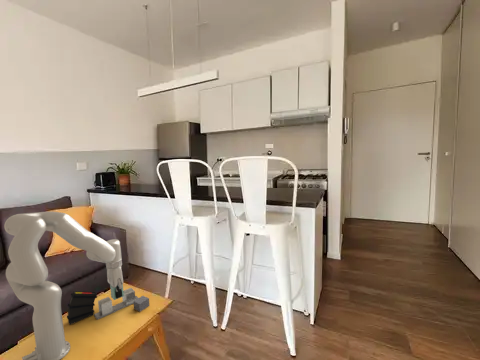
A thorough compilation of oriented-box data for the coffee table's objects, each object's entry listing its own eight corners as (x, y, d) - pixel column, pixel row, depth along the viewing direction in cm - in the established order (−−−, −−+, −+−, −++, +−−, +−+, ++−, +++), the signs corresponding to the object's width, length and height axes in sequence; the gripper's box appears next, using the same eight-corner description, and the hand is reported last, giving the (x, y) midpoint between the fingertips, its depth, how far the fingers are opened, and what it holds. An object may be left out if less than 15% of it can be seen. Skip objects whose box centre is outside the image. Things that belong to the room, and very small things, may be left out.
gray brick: (140, 312, 134) (139, 304, 133) (134, 309, 136) (133, 301, 136) (149, 305, 139) (148, 298, 138) (143, 303, 141) (142, 295, 141)
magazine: (59, 322, 124) (72, 290, 127) (88, 320, 134) (99, 291, 136) (61, 325, 122) (74, 293, 125) (90, 324, 131) (101, 294, 134)
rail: (97, 320, 128) (95, 306, 127) (94, 315, 131) (92, 302, 130) (140, 300, 143) (139, 288, 142) (136, 297, 147) (135, 285, 146)
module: (114, 300, 134) (112, 287, 133) (111, 297, 136) (110, 284, 135) (123, 296, 137) (122, 283, 136) (121, 293, 140) (119, 281, 139)
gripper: (100, 261, 137) (104, 292, 140) (112, 271, 126) (116, 305, 128) (115, 256, 143) (118, 286, 145) (127, 265, 131) (130, 298, 134)
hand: (117, 295), depth 137 cm, fingers closed on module, 4 cm apart
